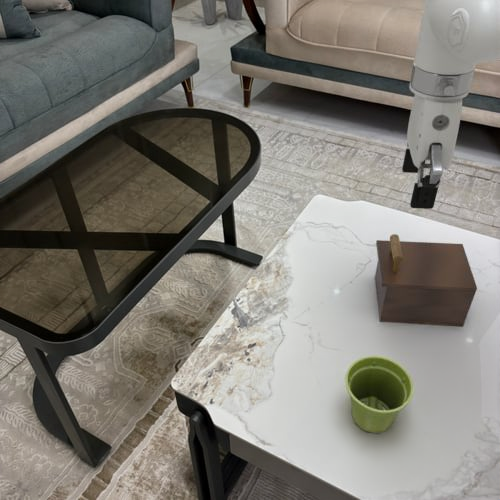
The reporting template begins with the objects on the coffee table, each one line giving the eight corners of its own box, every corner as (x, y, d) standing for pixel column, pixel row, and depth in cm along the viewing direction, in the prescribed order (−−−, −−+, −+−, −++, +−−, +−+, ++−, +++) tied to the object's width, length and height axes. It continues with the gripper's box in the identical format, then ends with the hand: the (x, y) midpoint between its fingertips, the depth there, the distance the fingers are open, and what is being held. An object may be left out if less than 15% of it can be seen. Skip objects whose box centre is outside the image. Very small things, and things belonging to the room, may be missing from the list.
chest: (379, 321, 91) (386, 287, 85) (374, 277, 99) (380, 243, 94) (463, 326, 89) (476, 291, 83) (450, 281, 98) (461, 247, 92)
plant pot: (370, 456, 71) (379, 424, 66) (327, 408, 78) (332, 375, 72) (416, 423, 75) (428, 389, 70) (372, 379, 81) (379, 345, 76)
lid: (381, 286, 85) (385, 266, 82) (375, 243, 94) (379, 223, 91) (476, 291, 83) (483, 271, 80) (461, 247, 92) (467, 227, 89)
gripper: (487, 107, 58) (453, 224, 69) (457, 55, 71) (432, 160, 82) (421, 106, 59) (397, 222, 70) (403, 55, 72) (386, 159, 83)
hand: (416, 188), depth 76 cm, fingers open, 9 cm apart
